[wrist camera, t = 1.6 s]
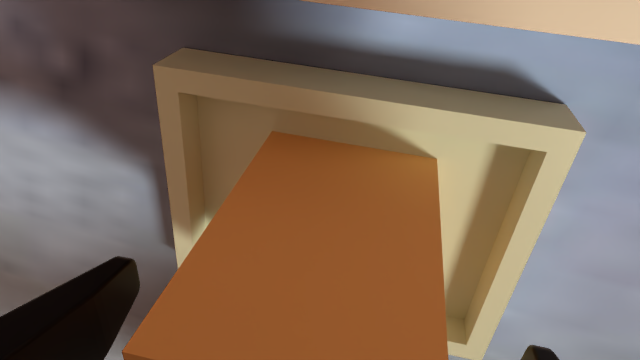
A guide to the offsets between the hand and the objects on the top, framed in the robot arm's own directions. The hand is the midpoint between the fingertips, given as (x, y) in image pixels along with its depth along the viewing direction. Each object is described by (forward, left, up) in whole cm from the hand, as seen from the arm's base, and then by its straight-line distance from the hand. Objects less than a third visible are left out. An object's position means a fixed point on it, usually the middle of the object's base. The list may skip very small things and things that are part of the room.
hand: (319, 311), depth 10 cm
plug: (0, 0, -4) cm, 4 cm away
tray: (0, 0, -4) cm, 4 cm away
